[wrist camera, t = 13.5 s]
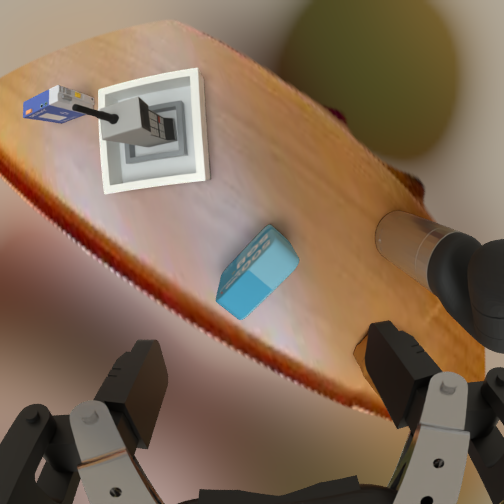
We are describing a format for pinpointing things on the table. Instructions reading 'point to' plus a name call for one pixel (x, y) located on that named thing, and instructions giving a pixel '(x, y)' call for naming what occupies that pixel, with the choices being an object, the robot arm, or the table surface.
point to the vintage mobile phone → (132, 123)
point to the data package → (256, 272)
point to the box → (165, 155)
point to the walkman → (56, 105)
